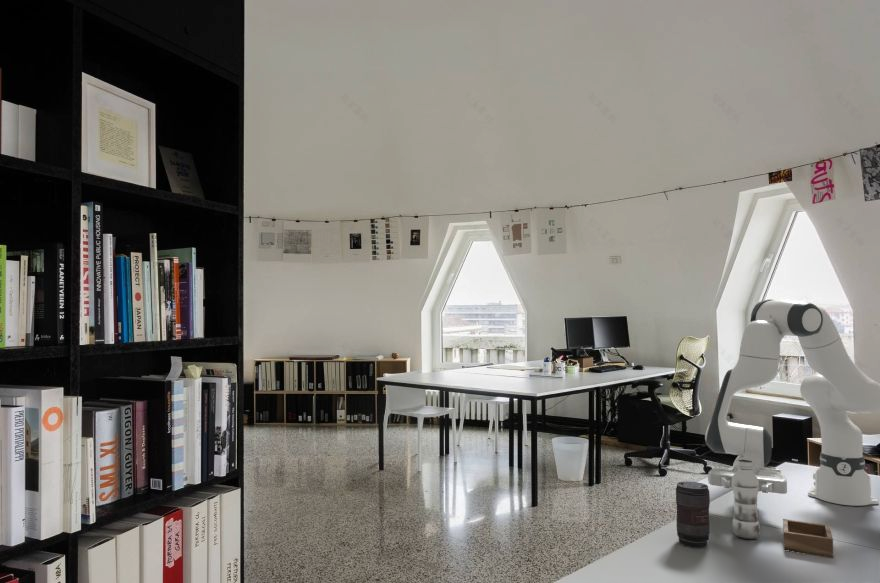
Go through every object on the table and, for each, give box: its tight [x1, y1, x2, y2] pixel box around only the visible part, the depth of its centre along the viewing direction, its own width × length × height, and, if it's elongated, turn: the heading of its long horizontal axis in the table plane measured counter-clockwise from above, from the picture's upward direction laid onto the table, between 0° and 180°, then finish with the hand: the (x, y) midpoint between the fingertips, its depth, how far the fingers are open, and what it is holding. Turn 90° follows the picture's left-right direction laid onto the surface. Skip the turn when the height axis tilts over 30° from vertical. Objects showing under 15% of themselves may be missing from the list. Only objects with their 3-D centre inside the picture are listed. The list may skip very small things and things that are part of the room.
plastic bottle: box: [731, 460, 761, 540], centre depth 170 cm, size 6×7×20 cm
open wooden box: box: [782, 518, 834, 559], centre depth 163 cm, size 12×10×4 cm
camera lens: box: [675, 481, 711, 549], centre depth 166 cm, size 8×8×15 cm
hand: (745, 487), depth 177 cm, fingers open, 8 cm apart
